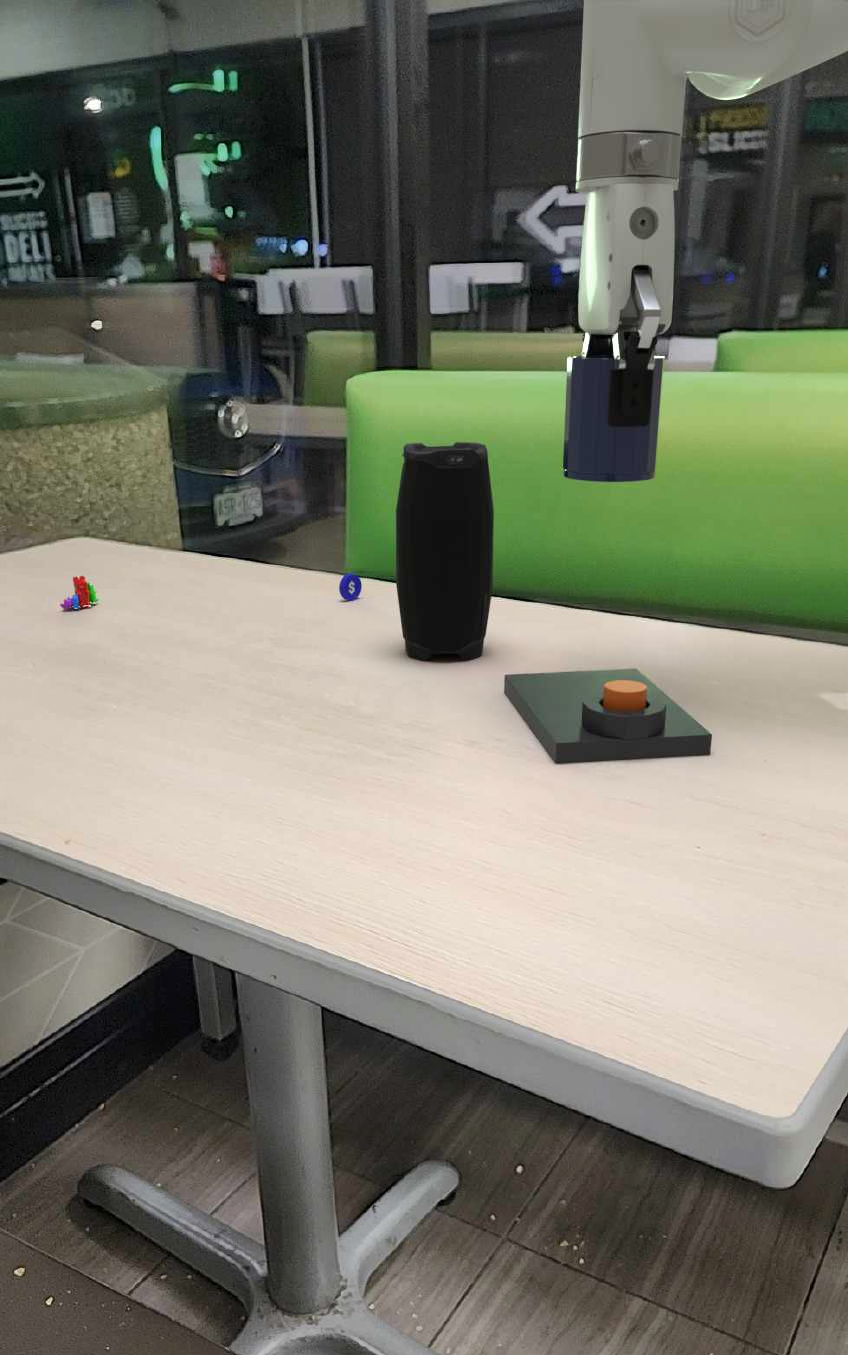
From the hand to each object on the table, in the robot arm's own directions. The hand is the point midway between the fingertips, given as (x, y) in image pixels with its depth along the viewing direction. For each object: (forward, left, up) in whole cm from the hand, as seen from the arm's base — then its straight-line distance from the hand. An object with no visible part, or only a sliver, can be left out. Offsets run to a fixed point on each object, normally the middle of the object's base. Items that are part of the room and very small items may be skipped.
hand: (612, 420), depth 92 cm
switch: (+2, +14, -20) cm, 24 cm away
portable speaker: (+11, -15, -23) cm, 30 cm away
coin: (+18, -40, -23) cm, 50 cm away
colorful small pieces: (+49, -41, -23) cm, 68 cm away
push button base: (+2, +8, -23) cm, 24 cm away
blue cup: (0, 0, -4) cm, 4 cm away
